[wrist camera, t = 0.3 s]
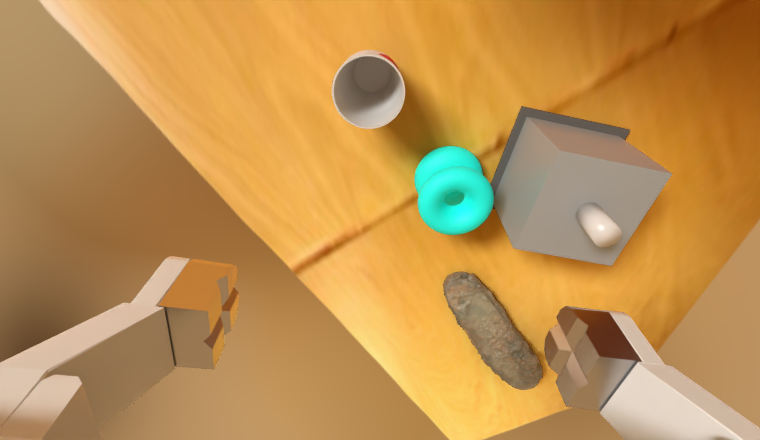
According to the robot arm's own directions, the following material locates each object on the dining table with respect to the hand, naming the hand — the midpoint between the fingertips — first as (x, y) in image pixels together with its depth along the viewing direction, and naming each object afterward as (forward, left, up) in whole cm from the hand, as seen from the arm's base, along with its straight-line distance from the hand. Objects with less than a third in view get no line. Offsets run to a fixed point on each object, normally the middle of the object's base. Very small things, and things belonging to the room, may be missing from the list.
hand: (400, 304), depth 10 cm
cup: (+5, -1, -48) cm, 48 cm away
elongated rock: (+47, +32, -48) cm, 74 cm away
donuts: (+17, +13, -48) cm, 52 cm away
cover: (+13, +28, -47) cm, 56 cm away
